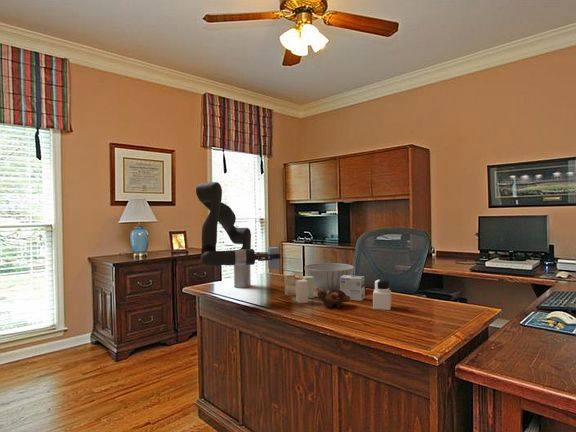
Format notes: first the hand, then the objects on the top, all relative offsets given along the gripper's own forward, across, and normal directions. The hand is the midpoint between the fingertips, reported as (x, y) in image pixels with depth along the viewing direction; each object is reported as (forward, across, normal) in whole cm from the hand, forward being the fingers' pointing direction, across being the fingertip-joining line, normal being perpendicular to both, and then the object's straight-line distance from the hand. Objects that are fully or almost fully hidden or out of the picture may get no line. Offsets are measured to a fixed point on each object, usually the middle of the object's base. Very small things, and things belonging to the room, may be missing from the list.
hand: (278, 255), depth 181 cm
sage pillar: (+14, -2, +21) cm, 25 cm away
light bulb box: (+33, -12, +21) cm, 41 cm away
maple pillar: (+7, +6, +21) cm, 23 cm away
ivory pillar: (+8, -10, +21) cm, 25 cm away
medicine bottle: (+38, -31, +21) cm, 54 cm away
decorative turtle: (+19, -22, +21) cm, 36 cm away
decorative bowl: (+31, +12, +21) cm, 40 cm away
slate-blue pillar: (-3, 0, +6) cm, 7 cm away
